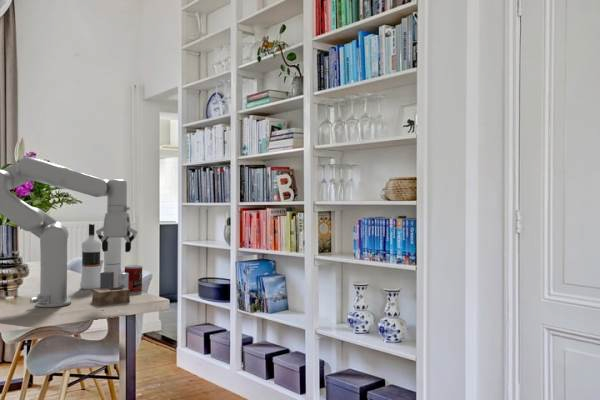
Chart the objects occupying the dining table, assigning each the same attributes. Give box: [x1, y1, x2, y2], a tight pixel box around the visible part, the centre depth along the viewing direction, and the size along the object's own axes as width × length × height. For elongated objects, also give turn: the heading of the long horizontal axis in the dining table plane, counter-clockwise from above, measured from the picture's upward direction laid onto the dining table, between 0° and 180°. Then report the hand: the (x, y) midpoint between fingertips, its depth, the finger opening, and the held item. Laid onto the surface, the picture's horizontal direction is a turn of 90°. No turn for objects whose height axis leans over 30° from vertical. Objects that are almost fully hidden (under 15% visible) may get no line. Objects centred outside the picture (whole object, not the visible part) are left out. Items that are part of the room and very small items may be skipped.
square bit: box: [99, 271, 114, 289], centre depth 228 cm, size 4×4×10 cm
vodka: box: [79, 223, 102, 290], centre depth 247 cm, size 9×9×30 cm
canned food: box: [124, 264, 143, 292], centre depth 243 cm, size 8×8×11 cm
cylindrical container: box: [103, 237, 122, 287], centre depth 238 cm, size 7×7×25 cm
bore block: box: [91, 287, 131, 306], centre depth 215 cm, size 12×9×5 cm
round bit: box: [119, 272, 129, 289], centre depth 226 cm, size 4×4×10 cm
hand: (116, 251), depth 216 cm, fingers open, 9 cm apart
